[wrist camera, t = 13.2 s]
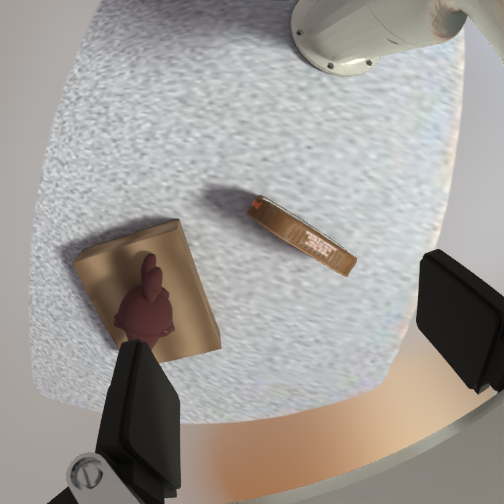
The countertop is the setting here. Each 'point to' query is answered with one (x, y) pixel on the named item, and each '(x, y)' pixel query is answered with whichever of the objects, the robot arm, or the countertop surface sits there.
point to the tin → (301, 235)
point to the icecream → (146, 307)
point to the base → (174, 281)
